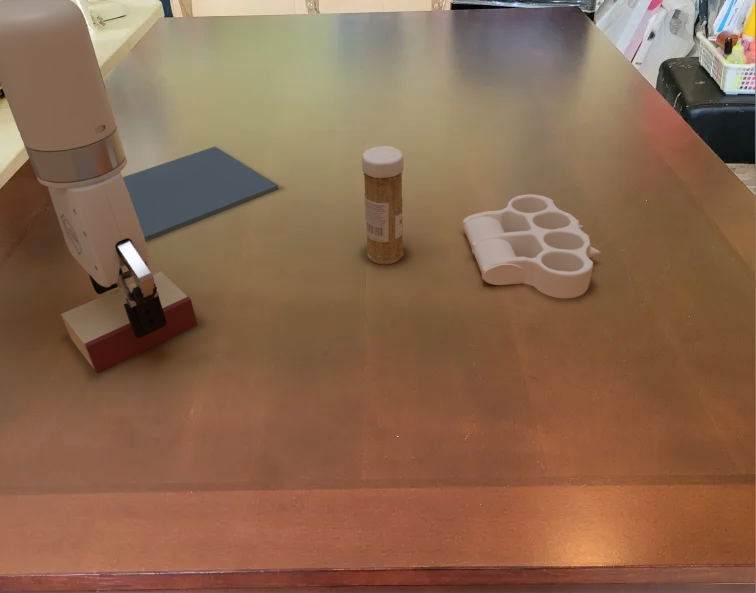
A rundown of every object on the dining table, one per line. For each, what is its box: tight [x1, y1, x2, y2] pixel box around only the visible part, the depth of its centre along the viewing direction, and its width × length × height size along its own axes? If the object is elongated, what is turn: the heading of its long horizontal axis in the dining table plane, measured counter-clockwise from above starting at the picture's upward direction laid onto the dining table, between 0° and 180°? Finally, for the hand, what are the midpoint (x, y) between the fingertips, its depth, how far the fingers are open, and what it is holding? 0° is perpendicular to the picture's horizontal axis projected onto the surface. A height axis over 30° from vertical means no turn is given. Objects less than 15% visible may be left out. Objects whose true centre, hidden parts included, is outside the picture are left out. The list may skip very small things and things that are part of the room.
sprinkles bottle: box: [361, 145, 404, 266], centre depth 76 cm, size 5×5×14 cm
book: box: [60, 271, 198, 374], centre depth 68 cm, size 11×7×4 cm, turn 131°
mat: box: [122, 146, 279, 242], centre depth 93 cm, size 24×18×1 cm
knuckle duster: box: [462, 193, 602, 300], centre depth 78 cm, size 3×18×15 cm
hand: (130, 308), depth 67 cm, fingers open, 9 cm apart
